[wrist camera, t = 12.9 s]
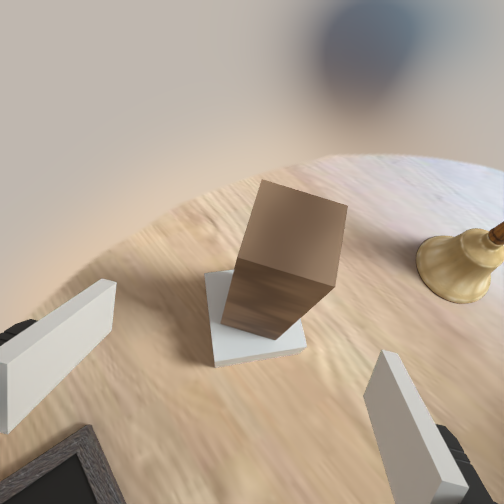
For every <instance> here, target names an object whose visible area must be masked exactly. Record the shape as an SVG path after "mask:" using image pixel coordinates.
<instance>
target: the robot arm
mask: <svg viewBox="0 0 504 504" xmlns="http://www.w3.org/2000/svg"><path fill="white" fill-rule="evenodd" d="M116 284H117V282H114V281H110V280H106V279H100V280H99V281H97V282H96V283H94V284H93V285H91V286H90V287H88V288H87V289H85V290H84V291H82V292H81V293H79V294H78V295H76V296H75V297H73V298H72V299H70V300H69V301H67V302H66V303H64V304H63V305H61V306H60V307H58V308H57V309H55V310H54V311H52V312H51V313H49V314H48V315H46V316H45V317H43V318H42V319H40V320H39V321H36V320H32V319H29V320H26V321H23V322H20V323H17V324H15V325H13V326H12V327H10V328H9V329H7V330H6V331H4V333H1V334H0V433H4V434H9V433H10V432H11V431H12V430H13V429H14V428H15V427H16V426H17V425H18V424H19V423H20V422H21V421H22V420H23V419H24V418H25V417H26V416H27V415H28V414H29V413H30V412H31V411H32V410H33V409H34V408H35V407H36V406H37V405H38V404H39V403H40V402H41V401H42V400H43V399H44V398H45V397H46V396H47V395H48V394H49V393H50V392H51V391H52V390H53V389H54V388H55V387H56V386H57V385H58V384H59V383H60V382H61V381H62V380H63V379H64V378H65V377H66V376H67V375H68V374H69V373H70V372H71V371H72V370H73V369H74V368H75V367H76V366H77V365H78V364H79V363H80V362H81V361H82V360H83V359H84V358H85V357H86V356H87V355H88V354H89V353H90V352H91V351H92V350H93V349H94V348H95V347H96V346H97V345H98V344H99V343H100V342H101V341H102V340H103V339H104V338H105V337H106V336H107V335H108V334H109V333H110V332H111V331H112V322H113V312H114V303H115V293H116ZM363 397H364V400H365V404H366V407H367V410H368V414H369V417H370V420H371V424H372V427H373V431H374V434H375V437H376V441H377V444H378V447H379V451H380V454H381V457H382V461H383V464H384V467H385V471H386V474H387V477H388V481H389V484H390V487H391V491H392V494H393V497H394V501H395V504H498V503H496V502H493V500H492V499H491V497H490V495H489V493H488V492H487V490H486V488H485V486H484V485H483V483H482V481H481V480H480V478H479V476H478V474H477V473H476V471H475V469H474V468H473V466H472V465H471V464H470V461H469V459H468V457H467V455H466V454H464V450H463V449H462V447H461V445H460V443H459V442H458V440H457V438H456V437H455V436H454V435H453V434H452V433H451V432H450V431H449V430H448V429H447V428H446V427H445V426H442V425H438V424H435V423H434V421H433V419H432V417H431V415H430V413H429V411H428V410H427V408H426V406H425V404H424V402H423V400H422V398H421V396H420V395H419V393H418V391H417V389H416V387H415V385H414V383H413V381H412V380H411V378H410V376H409V374H408V372H407V370H406V368H405V366H404V364H403V363H402V361H401V359H400V357H399V355H398V353H394V352H390V351H386V350H381V352H380V355H379V357H378V360H377V362H376V365H375V368H374V370H373V373H372V375H371V378H370V380H369V383H368V385H367V388H366V390H365V393H364V395H363Z"/></svg>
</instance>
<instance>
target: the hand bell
mask: <svg viewBox="0 0 504 504" xmlns="http://www.w3.org/2000/svg"><path fill="white" fill-rule="evenodd" d="M503 245H504V222H502V223H501V224H499V225H498V226H496V227H495V228H493V229H491V230H490V231H487V230H483V229H477V228H475V229H469V230H467V231H465V232H463V233H462V234H460V235H458V236H456V237H452V236H436V237H432V238H430V239H428V240H426V241H425V242H424V243H422V245H421V246H420V247H419V249H418V251H417V255H416V264H417V269H418V272H419V274H420V276H421V278H422V280H423V281H424V282H425V284H426V285H427V286H428V287H429V288H430V289H431V290H432V291H433V292H434V293H436V294H437V295H439V296H440V297H442V298H444V299H446V300H448V301H451V302H455V303H461V304H465V303H472V302H475V301H477V300H479V299H481V298H482V297H483V296H484V295H485V294H486V292H487V291H488V289H489V286H490V281H491V275H490V274H491V273H492V271H494V270H495V269H496V268H497V267H498V266H500V265H501V264H502V263H503V261H504V246H503Z"/></svg>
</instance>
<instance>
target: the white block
mask: <svg viewBox="0 0 504 504" xmlns="http://www.w3.org/2000/svg"><path fill="white" fill-rule="evenodd" d="M233 272H234V270H227V271H219V272H210V273H204V275H205V285H206V294H207V303H208V311H209V320H210V329H211V337H212V346H213V354H214V363H215V368H218V367H224V366H230V365H236V364H242V363H248V362H254V361H260V360H266V359H272V358H278V357H284V356H290V355H296V354H299V353H300V352H301V351H303V350H304V349H305V348H306V347H307V344H306V340H305V336H304V331H303V327H302V323H301V319H299V320H298V321H297V322H296V323H294V324H293V325H292V326H291V327H290V328H289V329H288V330H287V331H286V332H285V333H283V334H282V335H281V336H280V337H279V338H278V339H277V340H273V339H269V338H266V337H263V336H259V335H256V334H253V333H249V332H246V331H242V330H239V329H236V328H232V327H229V326H226V325H222V324H220V323H221V319H222V315H223V311H224V307H225V303H226V299H227V296H228V292H229V288H230V284H231V280H232V276H233Z"/></svg>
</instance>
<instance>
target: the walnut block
mask: <svg viewBox="0 0 504 504" xmlns="http://www.w3.org/2000/svg"><path fill="white" fill-rule="evenodd" d="M347 208H348V206H347V205H344V204H340V203H337V202H334V201H331V200H327V199H324V198H321V197H318V196H314V195H311V194H308V193H305V192H301V191H298V190H295V189H292V188H289V187H285V186H282V185H279V184H276V183H272V182H269V181H266V180H263V179H262V181H261V184H260V187H259V190H258V193H257V197H256V200H255V203H254V206H253V209H252V212H251V216H250V219H249V222H248V225H247V228H246V231H245V235H244V238H243V241H242V244H241V247H240V251H239V254H238V257H237V261H236V265H235V268H234V272H233V276H232V280H231V284H230V288H229V292H228V296H227V299H226V303H225V307H224V311H223V315H222V319H221V323H220V324H222V325H226V326H229V327H232V328H236V329H239V330H242V331H246V332H249V333H253V334H256V335H259V336H263V337H266V338H269V339H273V340H277V339H278V338H279V337H280V336H281V335H282V334H283V333H285V332H286V331H287V330H288V329H289V328H290V327H291V326H292V325H293V324H294V323H296V322H297V321H298V320H299V319H300V318H301V317H302V316H303V315H304V314H306V313H307V312H308V311H309V310H310V309H311V308H312V307H313V306H314V305H316V304H317V303H318V302H319V301H320V300H321V299H322V298H323V297H324V296H326V295H327V294H328V293H329V292H330V291H331V290H332V289H333V288H334V287H335V284H336V278H337V271H338V265H339V258H340V252H341V246H342V239H343V233H344V227H345V220H346V214H347Z"/></svg>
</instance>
